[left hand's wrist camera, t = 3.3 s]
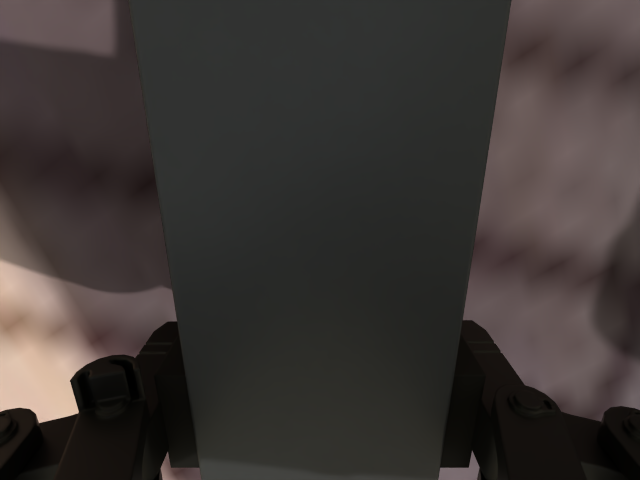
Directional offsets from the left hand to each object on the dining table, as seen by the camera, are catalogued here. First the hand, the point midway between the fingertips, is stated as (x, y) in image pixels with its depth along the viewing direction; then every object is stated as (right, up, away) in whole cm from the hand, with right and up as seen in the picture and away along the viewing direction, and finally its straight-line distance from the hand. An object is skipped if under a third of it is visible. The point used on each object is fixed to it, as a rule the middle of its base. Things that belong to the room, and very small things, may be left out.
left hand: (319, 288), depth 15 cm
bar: (0, +18, -6) cm, 19 cm away
